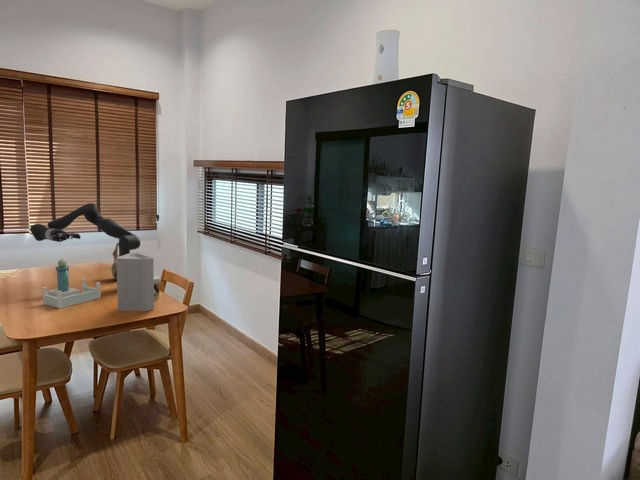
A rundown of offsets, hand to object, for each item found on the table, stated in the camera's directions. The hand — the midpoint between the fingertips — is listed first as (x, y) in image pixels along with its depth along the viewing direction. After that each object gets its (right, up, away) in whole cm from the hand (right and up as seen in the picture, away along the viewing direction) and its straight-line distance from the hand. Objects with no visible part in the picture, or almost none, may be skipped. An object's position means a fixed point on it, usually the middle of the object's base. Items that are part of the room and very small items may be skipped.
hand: (72, 237), depth 243 cm
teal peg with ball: (-4, -31, -3) cm, 31 cm away
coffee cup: (+47, -35, -2) cm, 59 cm away
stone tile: (-4, -33, -3) cm, 33 cm away
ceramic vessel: (+11, -28, +34) cm, 46 cm away
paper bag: (+45, -38, -21) cm, 62 cm away
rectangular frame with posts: (+8, -35, -14) cm, 39 cm away
